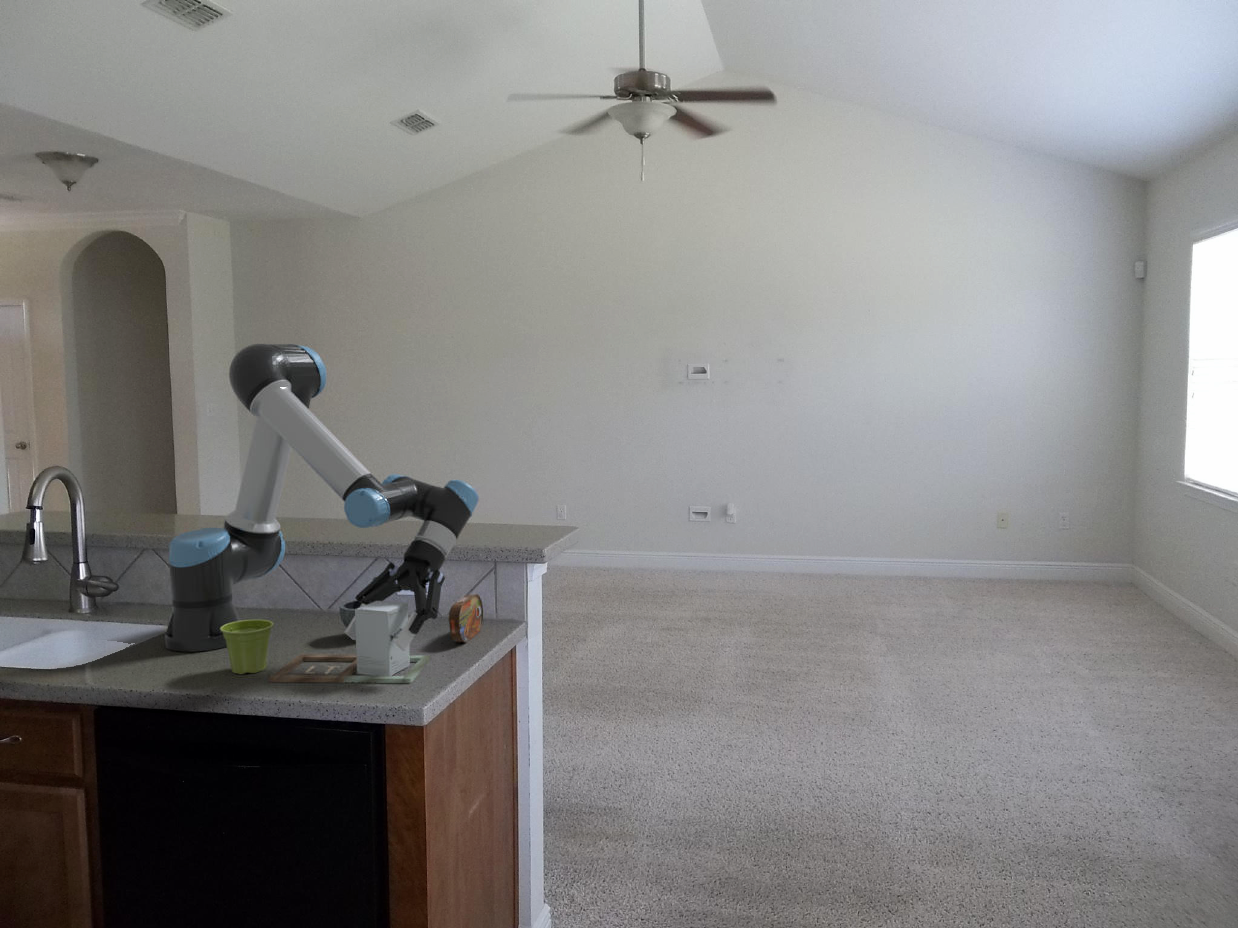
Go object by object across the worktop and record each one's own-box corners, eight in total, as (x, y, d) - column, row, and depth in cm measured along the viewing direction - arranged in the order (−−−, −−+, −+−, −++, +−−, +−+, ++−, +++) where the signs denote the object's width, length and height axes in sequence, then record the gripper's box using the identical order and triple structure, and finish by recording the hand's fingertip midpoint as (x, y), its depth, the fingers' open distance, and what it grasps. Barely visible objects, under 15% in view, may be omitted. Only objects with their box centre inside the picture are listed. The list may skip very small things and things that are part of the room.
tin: (461, 647, 195) (460, 607, 195) (447, 646, 196) (445, 606, 195) (485, 627, 210) (483, 590, 209) (471, 627, 211) (470, 589, 210)
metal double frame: (269, 681, 175) (268, 677, 175) (299, 658, 189) (299, 654, 189) (410, 682, 174) (410, 678, 173) (430, 659, 187) (430, 655, 187)
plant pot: (250, 659, 189) (247, 616, 188) (286, 665, 185) (283, 621, 184) (211, 673, 181) (209, 628, 180) (248, 680, 176) (245, 634, 176)
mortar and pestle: (363, 644, 198) (360, 587, 197) (331, 638, 203) (329, 583, 202) (401, 631, 208) (399, 577, 207) (370, 625, 213) (368, 572, 211)
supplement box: (389, 678, 176) (387, 611, 175) (355, 674, 179) (353, 608, 178) (411, 666, 183) (409, 602, 182) (378, 662, 186) (376, 599, 185)
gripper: (486, 566, 185) (433, 662, 174) (395, 553, 199) (341, 641, 188) (466, 544, 180) (410, 641, 169) (375, 532, 194) (318, 621, 183)
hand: (374, 641), depth 178 cm, fingers open, 13 cm apart
